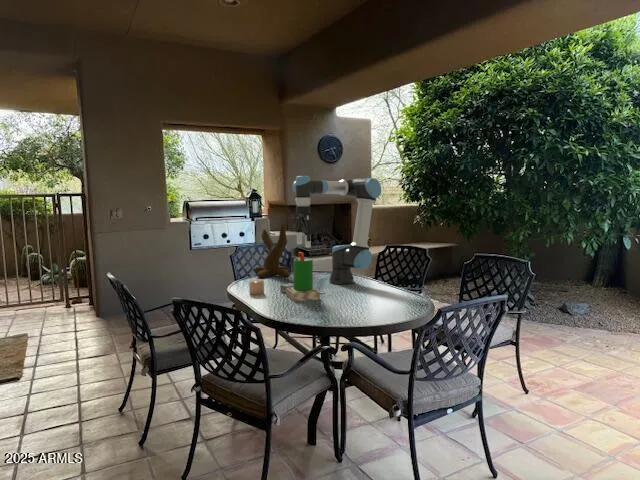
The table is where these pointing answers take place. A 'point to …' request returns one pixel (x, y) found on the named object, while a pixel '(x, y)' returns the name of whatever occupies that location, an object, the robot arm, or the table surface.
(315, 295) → the plinth
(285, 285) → the grey stone block
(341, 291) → the table surface
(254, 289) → the tan rounded cylinder
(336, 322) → the table surface
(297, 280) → the motor
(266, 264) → the wooden stand
